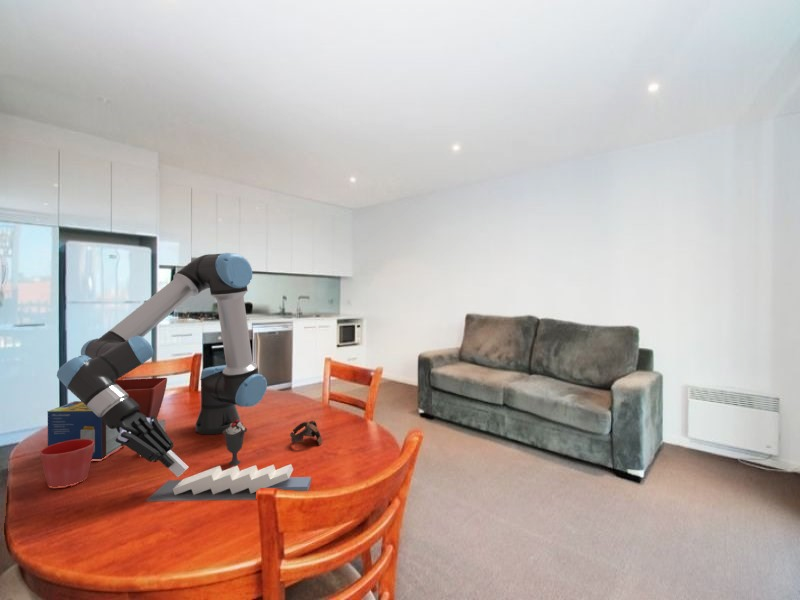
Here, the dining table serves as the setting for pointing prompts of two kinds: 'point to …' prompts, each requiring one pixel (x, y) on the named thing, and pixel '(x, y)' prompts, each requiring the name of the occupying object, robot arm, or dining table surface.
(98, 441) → the protein box
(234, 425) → the sundae
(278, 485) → the domino
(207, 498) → the runner mat
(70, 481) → the flower pot
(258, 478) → the domino
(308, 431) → the brown ring with handle
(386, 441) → the dining table surface
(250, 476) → the domino
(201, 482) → the domino
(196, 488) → the domino
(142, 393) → the plant pot
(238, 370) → the robot arm
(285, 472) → the domino
